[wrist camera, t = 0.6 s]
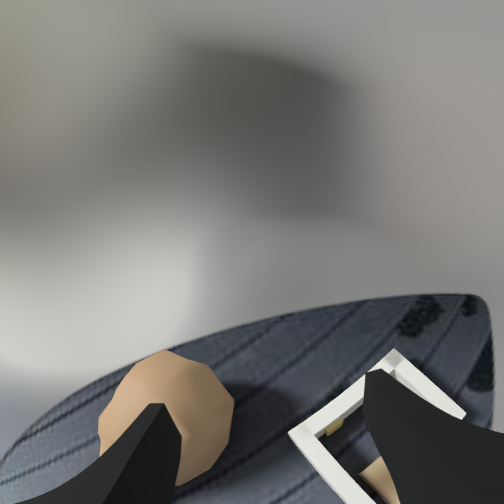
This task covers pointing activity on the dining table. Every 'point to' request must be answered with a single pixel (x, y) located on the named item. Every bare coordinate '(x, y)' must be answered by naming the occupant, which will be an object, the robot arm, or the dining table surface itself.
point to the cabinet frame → (349, 402)
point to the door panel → (380, 481)
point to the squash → (174, 408)
